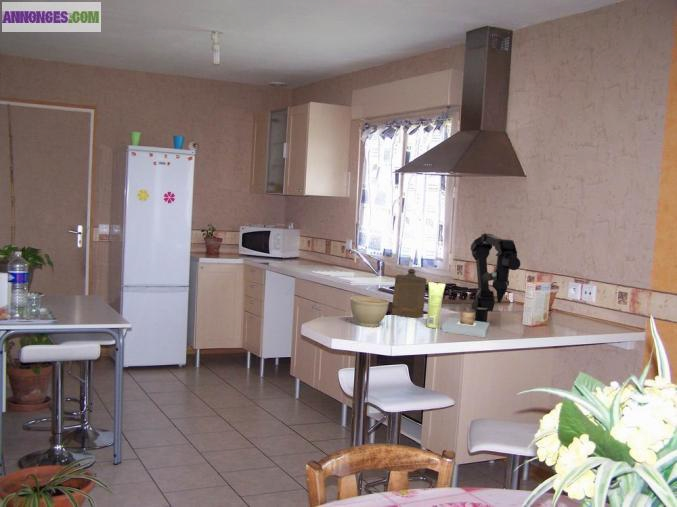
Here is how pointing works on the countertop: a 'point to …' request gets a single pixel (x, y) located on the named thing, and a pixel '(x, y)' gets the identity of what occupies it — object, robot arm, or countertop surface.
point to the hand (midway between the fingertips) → (498, 302)
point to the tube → (434, 303)
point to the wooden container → (409, 295)
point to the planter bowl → (368, 310)
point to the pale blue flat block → (465, 327)
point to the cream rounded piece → (467, 317)
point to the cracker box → (536, 303)
